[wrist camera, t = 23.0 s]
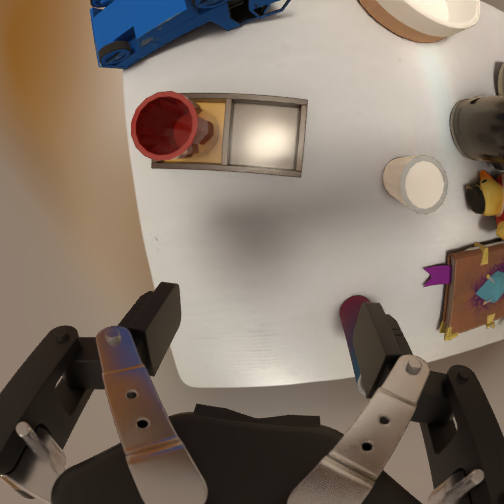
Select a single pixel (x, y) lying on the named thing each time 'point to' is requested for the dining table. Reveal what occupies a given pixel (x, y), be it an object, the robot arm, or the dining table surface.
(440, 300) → the dining table surface
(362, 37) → the dining table surface
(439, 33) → the bowl
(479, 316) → the book
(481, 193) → the toy
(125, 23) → the toy vehicle
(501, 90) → the shoe
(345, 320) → the cup
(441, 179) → the shot glass
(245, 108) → the caddy
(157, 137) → the tumbler
